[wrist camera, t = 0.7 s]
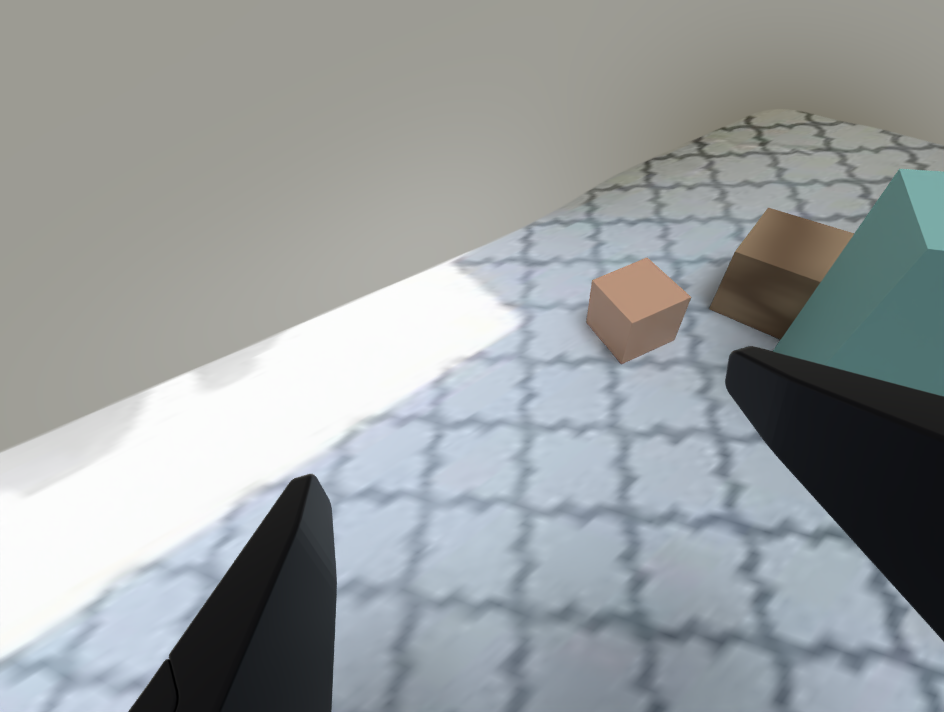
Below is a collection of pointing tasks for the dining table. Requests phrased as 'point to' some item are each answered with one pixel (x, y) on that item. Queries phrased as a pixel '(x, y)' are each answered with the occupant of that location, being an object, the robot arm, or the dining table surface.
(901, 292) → the teal block
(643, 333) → the terracotta cube
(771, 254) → the walnut cube
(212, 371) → the dining table surface
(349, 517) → the dining table surface
